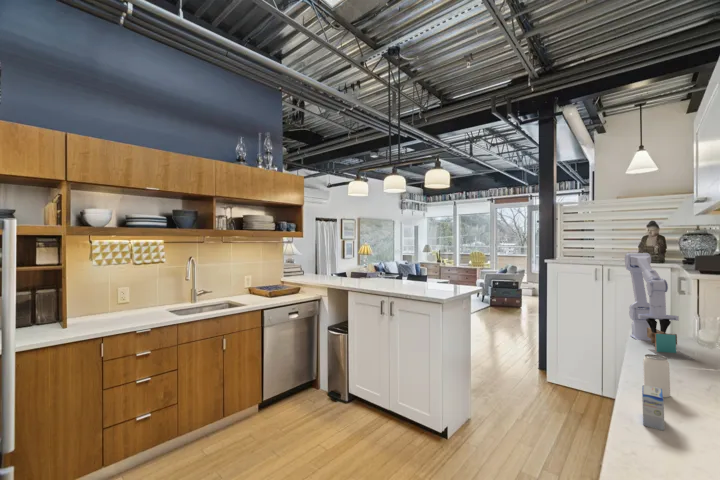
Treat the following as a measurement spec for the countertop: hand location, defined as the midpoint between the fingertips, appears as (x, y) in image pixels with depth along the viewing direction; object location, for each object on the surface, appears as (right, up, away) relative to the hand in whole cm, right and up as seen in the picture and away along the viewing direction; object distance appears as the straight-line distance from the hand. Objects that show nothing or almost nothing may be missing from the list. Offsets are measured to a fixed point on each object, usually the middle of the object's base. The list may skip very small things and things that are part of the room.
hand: (658, 335), depth 158 cm
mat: (-3, -6, -9) cm, 12 cm away
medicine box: (-57, -7, -64) cm, 86 cm away
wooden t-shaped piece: (+1, -3, +2) cm, 3 cm away
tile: (-2, -6, -6) cm, 8 cm away
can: (-41, -7, -46) cm, 62 cm away
